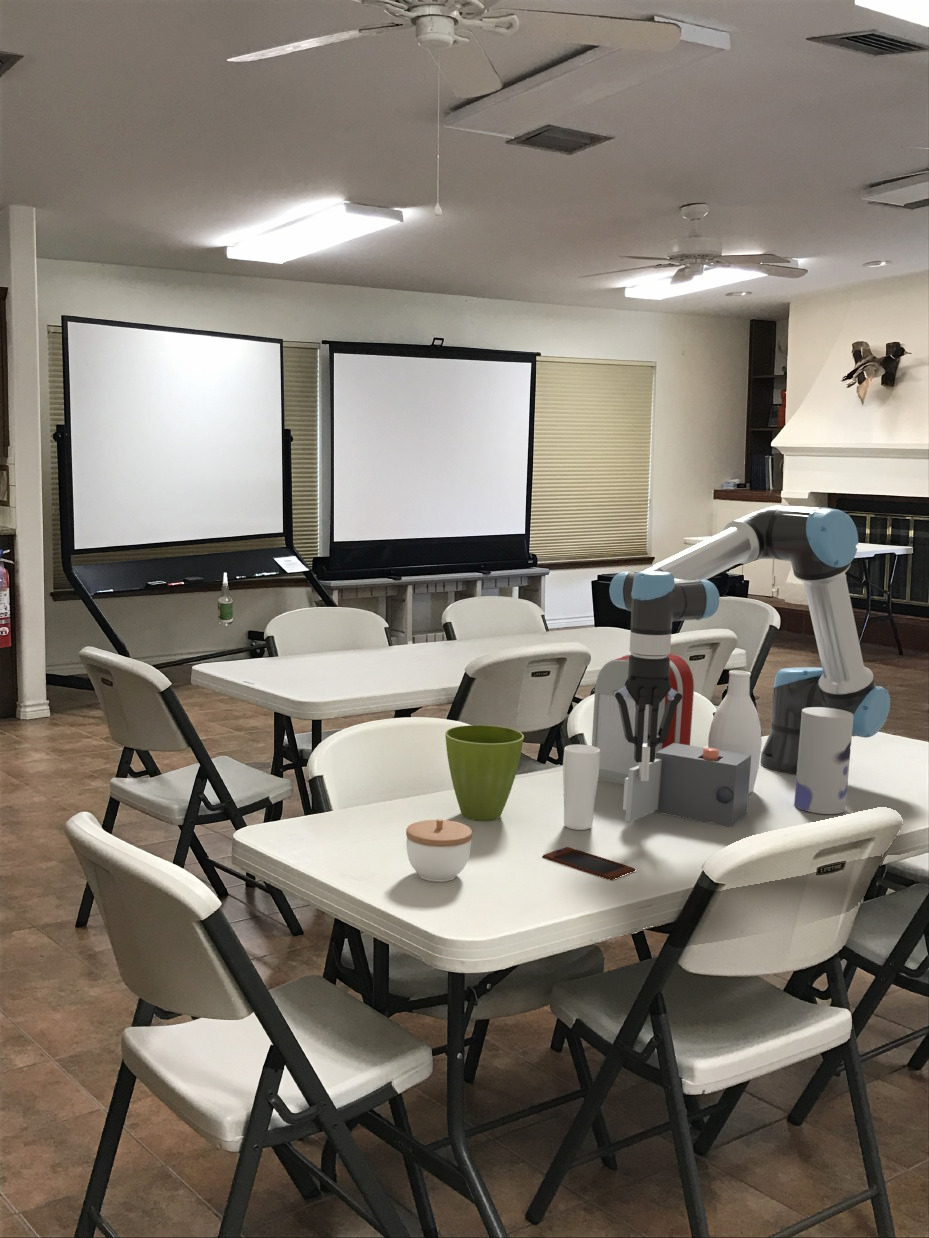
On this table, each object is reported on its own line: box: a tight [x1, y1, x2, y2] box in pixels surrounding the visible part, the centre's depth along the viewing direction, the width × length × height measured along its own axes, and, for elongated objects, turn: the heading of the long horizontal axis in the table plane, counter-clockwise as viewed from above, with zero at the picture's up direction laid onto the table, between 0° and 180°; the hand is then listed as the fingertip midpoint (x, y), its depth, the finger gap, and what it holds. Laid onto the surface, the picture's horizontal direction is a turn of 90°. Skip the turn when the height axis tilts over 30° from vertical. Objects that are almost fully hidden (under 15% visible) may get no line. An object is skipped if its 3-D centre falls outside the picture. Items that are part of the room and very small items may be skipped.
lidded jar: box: [405, 818, 473, 883], centre depth 193 cm, size 11×11×9 cm
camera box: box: [652, 743, 751, 828], centre depth 234 cm, size 11×16×12 cm
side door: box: [622, 758, 662, 823], centre depth 229 cm, size 2×12×10 cm, turn 143°
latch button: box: [703, 747, 719, 761], centre depth 231 cm, size 3×3×2 cm
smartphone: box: [541, 846, 637, 881], centre depth 203 cm, size 7×1×15 cm
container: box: [793, 707, 854, 815], centre depth 241 cm, size 10×10×20 cm
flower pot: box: [444, 724, 525, 822], centre depth 226 cm, size 15×15×16 cm
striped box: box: [591, 653, 695, 785], centre depth 260 cm, size 16×18×27 cm
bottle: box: [707, 669, 763, 795], centre depth 252 cm, size 11×11×25 cm
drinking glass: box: [562, 744, 600, 831], centre depth 222 cm, size 7×7×15 cm
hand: (643, 778), depth 223 cm, fingers closed
